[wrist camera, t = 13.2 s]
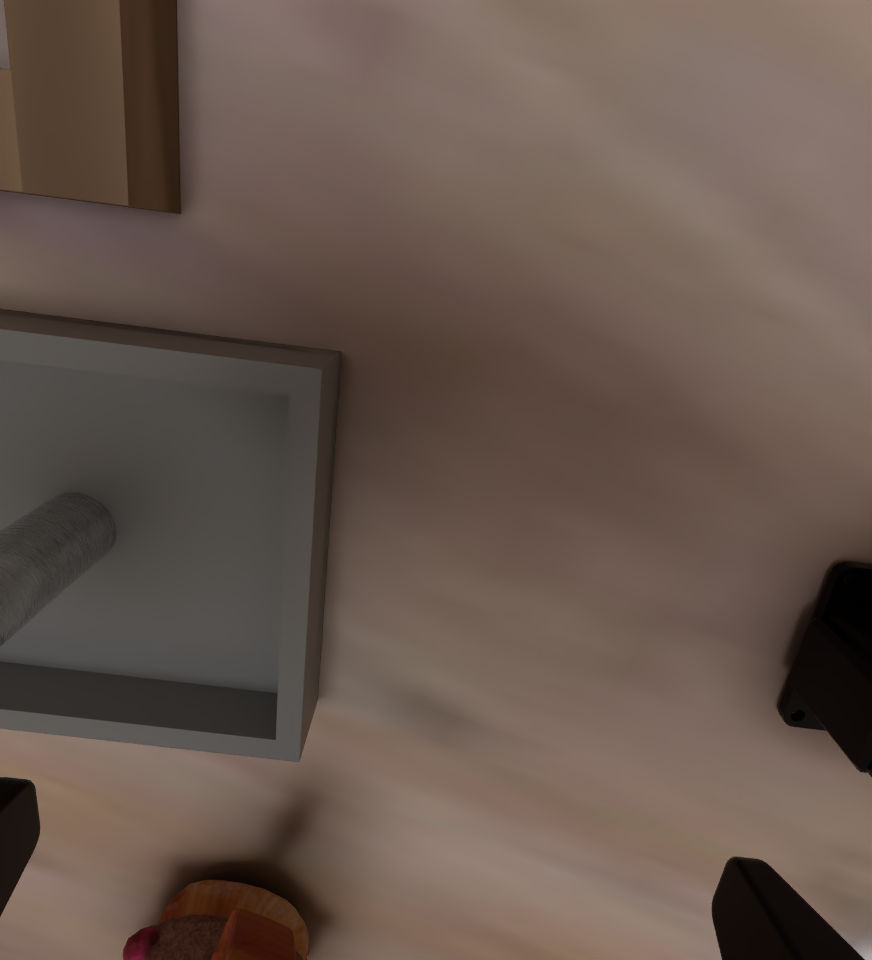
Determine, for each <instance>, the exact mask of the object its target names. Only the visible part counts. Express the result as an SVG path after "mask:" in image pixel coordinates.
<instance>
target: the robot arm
mask: <svg viewBox="0 0 872 960" xmlns="http://www.w3.org/2000/svg"><path fill="white" fill-rule="evenodd" d="M850 574H852V576H851V578H850V579H849V580H847V581H845V582H844V579H845V577H846V576H848V575H850ZM796 710H798V711H797V712H795V713H792V712H794V711H796ZM778 712H779V714H780V716H781V717H782V719H783V720H784V722H785V723H786V724H788V725H789V726H793V727H800V728H809V729H818V730H826V731H827V732H828V733H829V734H830V735H831V737H832V738H833V739H834V741H835V742H836V743H837V744H838V746H839V747H840V748H841V749H842V751H843V752H844V753H845V755H846V756H847V757H848V758H849V760H850V761H851V762H852V763H853V765H854V766H855V767H856V769H857V770H859V771H860V772H864V773H869V775H870V776H871V777H872V564H864V563H856V562H842V563H840V564H837V565H836V566H835V567H834V568H832V570H831V572H830V573H829V576H828V579H827V581H826V584H825V586H824V589H823V592H822V594H821V597H820V599H819V602H818V605H817V607H816V610H815V613H814V615H813V618H812V620H811V622H810V624H809V626H808V629H807V631H806V634H805V636H804V639H803V642H802V644H801V647H800V649H799V652H798V655H797V657H796V660H795V663H794V665H793V668H792V670H791V673H790V676H789V678H788V683H787V686H786V688H785V691H784V694H783V696H782V699H781V701H780V704H779V707H778ZM39 834H40V820H39V812H38V804H37V797H36V789H35V785H34V784H33V783H32V782H31V781H30V780H26V779H17V778H8V777H1V778H0V916H1V914H2V912H3V910H4V908H5V906H6V904H7V902H8V900H9V898H10V896H11V894H12V892H13V891H14V889H15V887H16V885H17V883H18V881H19V879H20V877H21V875H22V873H23V871H24V869H25V867H26V865H27V863H28V861H29V859H30V857H31V855H32V853H33V851H34V849H35V847H36V844H37V842H38V838H39ZM712 918H713V923H714V927H715V931H716V936H717V940H718V944H719V948H720V953H721V957H722V960H864V959H863V958H862V957H861V956H860V955H859V954H858V953H857V952H856V951H855V950H854V949H853V948H852V947H851V946H850V945H849V944H848V943H847V942H846V941H845V940H844V939H843V938H842V937H841V936H840V935H839V934H838V933H837V932H836V931H835V930H834V929H833V928H832V927H831V926H830V925H829V924H828V923H827V922H826V921H825V920H824V919H823V918H822V917H821V916H820V915H819V914H818V913H817V912H816V911H815V910H814V909H813V908H812V907H811V906H810V905H809V904H808V903H807V902H806V901H805V900H804V899H803V898H802V897H801V896H800V895H799V894H798V893H797V892H796V891H795V890H794V889H793V888H792V887H791V886H790V885H789V884H788V883H787V882H786V881H785V880H784V879H783V878H782V877H781V876H780V875H779V874H778V873H777V872H776V871H775V870H774V869H773V868H772V867H771V866H769V865H768V864H767V863H766V862H764V861H762V860H759V859H754V858H744V857H732V858H730V859H729V860H728V861H727V863H726V865H725V868H724V871H723V873H722V876H721V878H720V881H719V884H718V886H717V889H716V891H715V894H714V897H713V900H712Z"/></svg>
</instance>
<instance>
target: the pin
mask: <svg viewBox="0 0 872 960" xmlns="http://www.w3.org/2000/svg"><path fill="white" fill-rule="evenodd" d="M115 539H116V527H115V523H114V521H113V518H112V516H111V515H110V513H109V512H108V511H107V509H106V508H105V507H104V506H103V505H102V504H101V503H99V502H98V501H97V500H95V499H93V498H91V497H89V496H87V495H84V494H80V493H72V492H69V493H63V494H59V495H57V496H55V497H53V498H52V499H50V500H48V501H47V502H45V503H43V504H42V505H40V506H39V507H37V508H35V509H34V510H32V511H30V512H29V513H27V514H26V515H24V516H22V517H21V518H19V519H17V520H16V521H14V522H13V523H11V524H9V525H8V526H6V527H4V528H3V529H1V530H0V646H1V645H3V644H4V643H5V642H6V641H7V640H8V639H9V638H11V637H12V636H13V635H14V634H15V633H16V632H18V631H19V630H20V629H21V628H22V627H23V626H24V625H26V624H27V623H28V622H29V621H30V620H31V619H32V618H34V617H35V616H36V615H37V614H38V613H39V612H40V611H42V610H43V609H44V608H45V607H46V606H47V605H48V604H50V603H51V602H52V601H53V600H54V599H55V598H56V597H58V596H59V595H60V594H61V593H62V592H63V591H64V590H66V589H67V588H68V587H69V586H70V585H71V584H72V583H74V582H75V581H76V580H77V579H78V578H79V577H81V576H82V575H83V574H84V573H85V572H86V571H87V570H89V569H90V568H91V567H92V566H93V565H94V564H95V563H97V562H98V561H99V560H100V559H101V558H102V557H103V556H105V555H106V554H107V553H108V552H109V551H110V550H111V548H112V547H113V545H114V543H115Z"/></svg>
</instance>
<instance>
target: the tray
mask: <svg viewBox="0 0 872 960" xmlns="http://www.w3.org/2000/svg"><path fill="white" fill-rule="evenodd" d="M340 364H341V352H338V351H330V350H322V349H314V348H306V347H298V346H290V345H282V344H274V343H266V342H258V341H250V340H242V339H234V338H226V337H218V336H210V335H202V334H195V333H187V332H179V331H171V330H163V329H155V328H147V327H139V326H131V325H123V324H115V323H107V322H99V321H91V320H83V319H75V318H67V317H59V316H51V315H43V314H35V313H27V312H19V311H11V310H3V309H0V530H1V529H3V528H4V527H6V526H8V525H9V524H11V523H13V522H14V521H16V520H17V519H19V518H21V517H22V516H24V515H26V514H27V513H29V512H30V511H32V510H34V509H35V508H37V507H39V506H40V505H42V504H43V503H45V502H47V501H48V500H50V499H52V498H53V497H55V496H57V495H59V494H63V493H69V492H72V493H80V494H84V495H87V496H89V497H91V498H93V499H95V500H97V501H98V502H99V503H101V504H102V505H103V506H104V507H105V508H106V509H107V511H108V512H109V513H110V515H111V516H112V518H113V521H114V523H115V527H116V539H115V543H114V545H113V547H112V548H111V550H110V551H109V552H108V553H107V554H106V555H105V556H103V557H102V558H101V559H100V560H99V561H98V562H97V563H95V564H94V565H93V566H92V567H91V568H90V569H89V570H87V571H86V572H85V573H84V574H83V575H82V576H81V577H79V578H78V579H77V580H76V581H75V582H74V583H72V584H71V585H70V586H69V587H68V588H67V589H66V590H64V591H63V592H62V593H61V594H60V595H59V596H58V597H56V598H55V599H54V600H53V601H52V602H51V603H50V604H48V605H47V606H46V607H45V608H44V609H43V610H42V611H40V612H39V613H38V614H37V615H36V616H35V617H34V618H32V619H31V620H30V621H29V622H28V623H27V624H26V625H24V626H23V627H22V628H21V629H20V630H19V631H18V632H16V633H15V634H14V635H13V636H12V637H11V638H9V639H8V640H7V641H6V642H5V643H4V644H3V645H1V646H0V729H9V730H18V731H27V732H36V733H45V734H54V735H63V736H72V737H80V738H89V739H98V740H107V741H116V742H125V743H134V744H143V745H152V746H161V747H170V748H178V749H187V750H196V751H205V752H214V753H223V754H232V755H241V756H250V757H259V758H268V759H277V760H285V761H294V762H299V761H300V758H301V755H302V751H303V748H304V744H305V741H306V738H307V734H308V731H309V728H310V724H311V721H312V718H313V714H314V711H315V708H316V704H317V701H318V688H319V673H320V659H321V644H322V629H323V614H324V600H325V585H326V570H327V556H328V541H329V526H330V512H331V497H332V482H333V467H334V453H335V438H336V423H337V409H338V394H339V379H340Z"/></svg>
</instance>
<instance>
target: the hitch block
mask: <svg viewBox="0 0 872 960" xmlns="http://www.w3.org/2000/svg"><path fill="white" fill-rule="evenodd" d="M4 7H5V17H6V28H7V38H8V48H9V58H10V68H11V70H6V69H0V191H8V192H16V193H24V194H31V195H39V196H47V197H55V198H62V199H70V200H78V201H86V202H93V203H101V204H109V205H117V206H124V207H132V208H140V209H148V210H155V211H163V212H171V213H179V214H180V172H179V120H178V67H177V14H176V0H4Z"/></svg>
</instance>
